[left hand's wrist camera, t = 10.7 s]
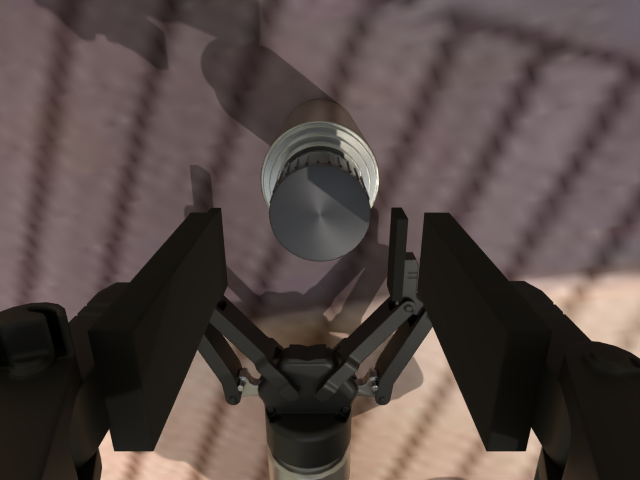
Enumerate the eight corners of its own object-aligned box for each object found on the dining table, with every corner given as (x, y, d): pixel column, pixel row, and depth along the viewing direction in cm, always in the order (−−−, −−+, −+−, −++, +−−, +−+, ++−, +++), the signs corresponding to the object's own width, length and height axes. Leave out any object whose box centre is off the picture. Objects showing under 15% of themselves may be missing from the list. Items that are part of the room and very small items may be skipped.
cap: (360, 242, 21) (365, 265, 18) (272, 236, 21) (266, 259, 18) (370, 154, 19) (378, 167, 17) (276, 147, 19) (269, 159, 17)
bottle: (352, 176, 38) (384, 284, 19) (281, 171, 38) (243, 274, 19) (360, 102, 36) (405, 142, 17) (284, 96, 35) (245, 129, 17)
